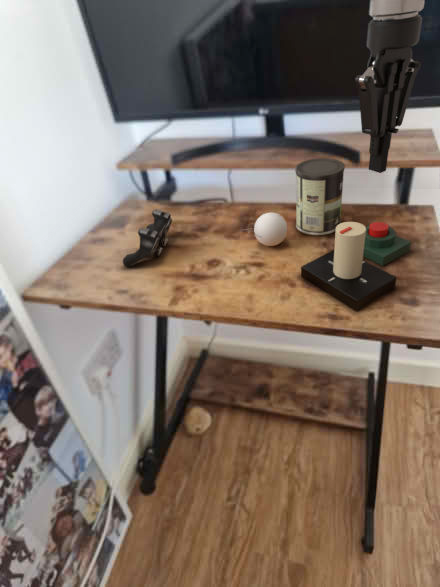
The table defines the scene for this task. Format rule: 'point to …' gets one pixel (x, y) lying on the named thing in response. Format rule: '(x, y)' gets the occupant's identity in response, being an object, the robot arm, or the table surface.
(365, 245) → the button box
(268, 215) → the white sphere
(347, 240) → the dial
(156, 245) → the game controller
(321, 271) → the panel
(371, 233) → the red button
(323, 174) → the coffee can
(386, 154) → the robot arm
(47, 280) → the table surface
